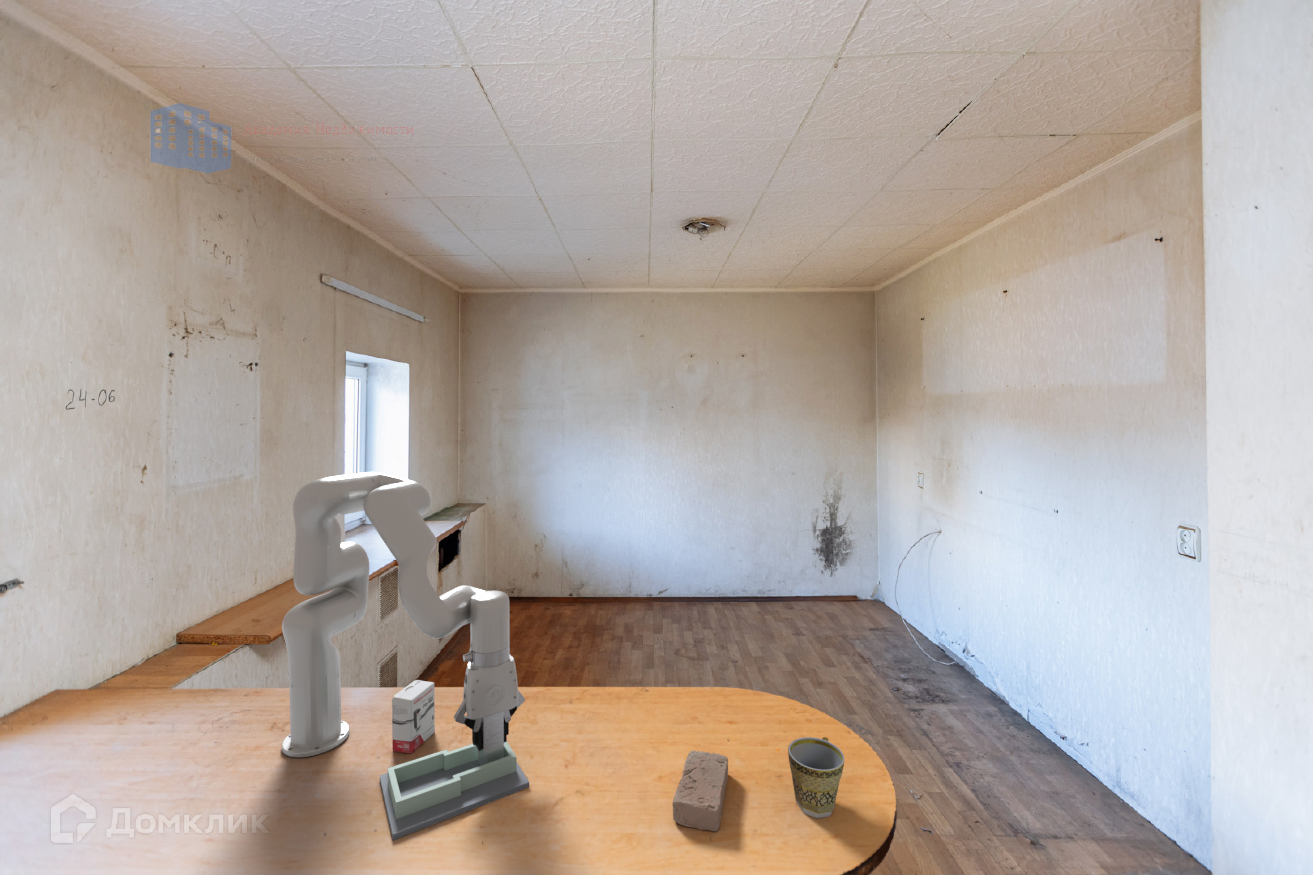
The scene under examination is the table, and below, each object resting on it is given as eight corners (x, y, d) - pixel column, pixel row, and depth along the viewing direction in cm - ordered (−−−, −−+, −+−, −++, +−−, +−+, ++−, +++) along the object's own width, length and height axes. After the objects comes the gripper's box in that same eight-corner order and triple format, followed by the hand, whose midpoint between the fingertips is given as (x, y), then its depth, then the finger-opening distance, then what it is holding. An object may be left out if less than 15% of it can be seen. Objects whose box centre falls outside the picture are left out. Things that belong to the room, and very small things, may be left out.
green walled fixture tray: (379, 780, 106) (379, 760, 106) (500, 740, 120) (500, 722, 119) (392, 840, 91) (392, 817, 91) (529, 786, 105) (529, 766, 104)
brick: (688, 767, 111) (688, 745, 111) (729, 774, 109) (729, 751, 109) (671, 827, 95) (671, 801, 95) (718, 836, 93) (719, 810, 93)
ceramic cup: (835, 833, 93) (836, 777, 93) (779, 811, 99) (780, 757, 98) (852, 790, 104) (853, 739, 104) (801, 771, 110) (802, 723, 109)
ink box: (411, 754, 114) (410, 700, 114) (391, 751, 115) (390, 697, 115) (436, 731, 123) (435, 680, 122) (417, 728, 124) (416, 678, 123)
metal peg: (478, 761, 110) (477, 704, 109) (497, 755, 112) (497, 698, 112) (483, 772, 107) (483, 713, 106) (503, 765, 109) (503, 707, 108)
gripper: (451, 672, 101) (451, 767, 102) (537, 651, 110) (537, 738, 111) (442, 657, 107) (443, 747, 108) (524, 638, 116) (524, 721, 117)
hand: (490, 742), depth 109 cm, fingers open, 4 cm apart
